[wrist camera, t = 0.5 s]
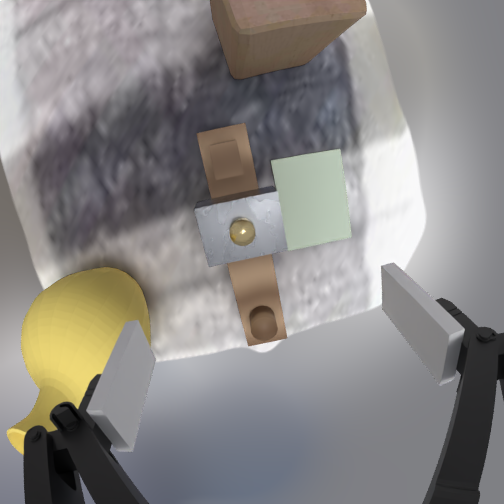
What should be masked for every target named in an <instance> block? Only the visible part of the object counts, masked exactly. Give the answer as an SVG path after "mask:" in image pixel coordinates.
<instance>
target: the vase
mask: <svg viewBox="0 0 504 504" xmlns="http://www.w3.org/2000/svg"><path fill="white" fill-rule="evenodd" d="M134 320H138V321H139V323H140V325H141V327H142V330H143V332H144V334H145V336H146V339H147V341H148V343H149V345H150V348H151V342H150V319H149V313H148V308H147V304H146V301H145V298H144V295H143V292H142V289H141V288H140V286H139V285H138V283H137V282H136V280H134V279H133V278H132V277H131V276H130V275H128V274H127V273H125V272H123V271H121V270H119V269H117V268H109V267H102V268H96V269H91V270H86V271H81V272H77V273H74V274H71V275H68V276H66V277H64V278H62V279H60V280H58V281H57V282H55V283H54V284H52V285H51V286H49V287H48V288H47V289H45V290H44V291H42V292H41V293H40V294H39V295H38V296H37V297H36V298H35V300H34V302H33V303H32V305H31V307H30V309H29V311H28V312H27V314H26V316H25V318H24V321H23V325H22V335H21V336H22V337H21V350H22V355H23V358H24V362H25V365H26V368H27V370H28V372H29V374H30V376H31V377H32V379H33V381H34V382H35V384H36V385H37V387H38V388H39V389H40V392H39V396H38V398H37V401H36V403H35V405H34V408H33V409H32V411H31V412H30V414H29V415H28V416H27V417H26V418H24V419H23V420H22V421H21V422H19V423H17V424H16V425H14V426H13V427H11V428H10V429H8V431H7V436H8V439H9V440H10V442H11V444H12V445H13V446H14V447H15V448H16V449H17V450H18V451H19V452H20V453H21V454H23V455H24V437H25V434H26V433H27V431H28V430H29V429H30V428H32V427H34V426H37V425H41V426H43V427H44V428H45V429H46V430H47V431H48V432H51V431H55V430H57V428H56V427H55V425H54V424H53V423H52V422H51V420H50V416H49V415H50V413H51V411H52V409H53V408H54V407H55V406H56V405H58V404H60V403H62V402H72V403H73V404H74V405H75V407H76V408H77V409H78V408H79V405H80V403H81V401H82V399H83V396H84V394H85V392H86V390H87V387H88V385H89V383H90V381H91V380H92V379H93V378H94V377H95V376H96V375H97V374H102V373H103V370H104V368H105V366H106V363H107V361H108V359H109V357H110V355H111V352H112V350H113V348H114V346H115V344H116V342H117V339H118V337H119V335H120V333H121V331H122V329H123V327H124V325H125V323H126V322H129V321H134Z"/></svg>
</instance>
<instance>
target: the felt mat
mask: <svg viewBox="0 0 504 504" xmlns="http://www.w3.org/2000/svg"><path fill="white" fill-rule="evenodd" d="M270 161H271V166H272V171H273V176H274V182H275V187H276V190H277V191H278V197H279V202H280V207H281V213H282V218H283V224H284V230H285V235H286V241H287V247H288V250H287V251H291V250H296V249H300V248H305V247H310V246H314V245H319V244H324V243H328V242H333V241H338V240H342V239H347V238H351V237H352V236H351V226H350V217H349V208H348V200H347V192H346V185H345V177H344V170H343V164H342V157H341V151H340V149H335V150H328V151H322V152H315V153H309V154H303V155H298V156H292V157H286V158H281V159H276V160H270Z"/></svg>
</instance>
